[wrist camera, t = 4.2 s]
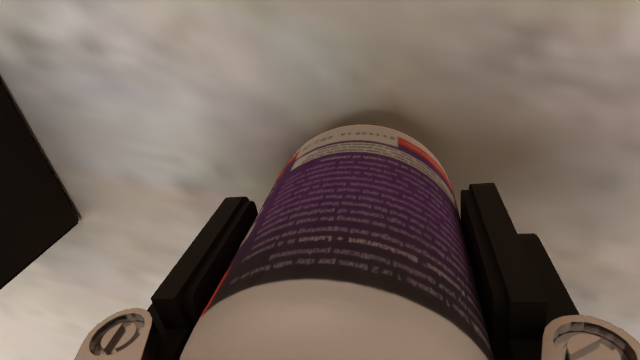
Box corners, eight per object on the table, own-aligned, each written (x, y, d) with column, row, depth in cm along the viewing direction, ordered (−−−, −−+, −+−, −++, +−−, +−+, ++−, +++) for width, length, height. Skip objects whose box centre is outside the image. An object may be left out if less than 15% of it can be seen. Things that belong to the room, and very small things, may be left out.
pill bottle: (258, 137, 12) (-84, 552, 3) (440, 102, 10) (629, 672, 2) (306, 274, 14) (171, 723, 6) (461, 260, 13) (588, 837, 4)
